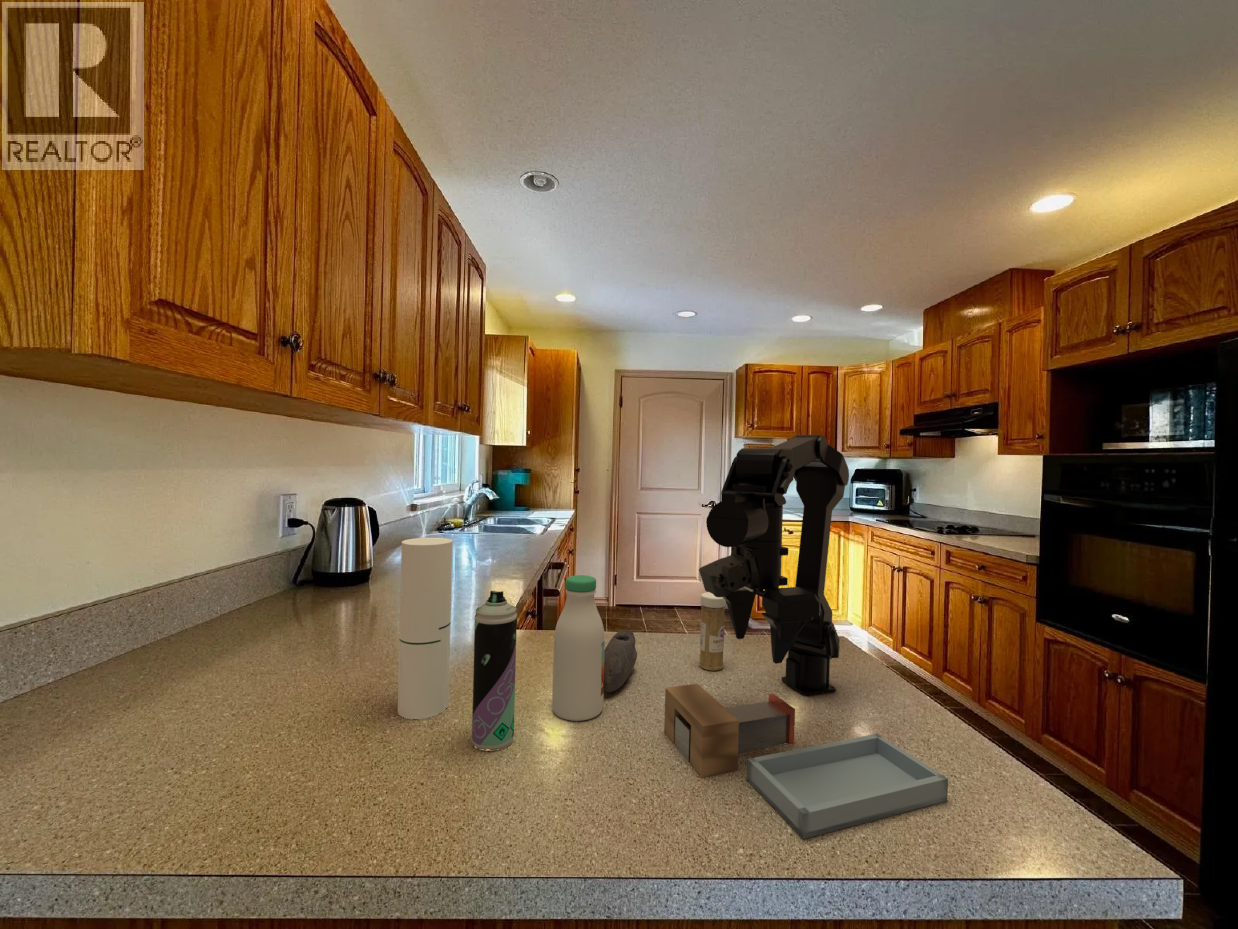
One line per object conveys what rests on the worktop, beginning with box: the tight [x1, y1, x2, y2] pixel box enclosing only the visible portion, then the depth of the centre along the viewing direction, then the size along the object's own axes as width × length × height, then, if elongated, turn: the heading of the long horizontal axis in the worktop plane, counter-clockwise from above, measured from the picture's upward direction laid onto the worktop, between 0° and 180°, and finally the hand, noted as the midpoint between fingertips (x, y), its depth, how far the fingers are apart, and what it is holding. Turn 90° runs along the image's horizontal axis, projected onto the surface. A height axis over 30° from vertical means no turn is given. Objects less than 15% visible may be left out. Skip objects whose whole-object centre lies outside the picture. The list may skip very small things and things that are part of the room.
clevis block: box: [663, 683, 739, 778], centre depth 68 cm, size 5×11×6 cm, turn 19°
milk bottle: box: [551, 574, 606, 722], centre depth 78 cm, size 8×8×20 cm
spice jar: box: [698, 591, 727, 672], centre depth 95 cm, size 5×5×13 cm
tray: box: [746, 733, 949, 840], centre depth 60 cm, size 20×10×3 cm, turn 109°
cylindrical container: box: [397, 537, 454, 720], centre depth 77 cm, size 7×7×25 cm
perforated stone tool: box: [604, 629, 638, 693], centre depth 88 cm, size 15×5×7 cm, turn 165°
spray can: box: [471, 590, 518, 750], centre depth 69 cm, size 6×6×20 cm
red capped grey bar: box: [674, 693, 796, 763], centre depth 69 cm, size 16×5×5 cm, turn 109°
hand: (757, 650), depth 71 cm, fingers open, 9 cm apart
